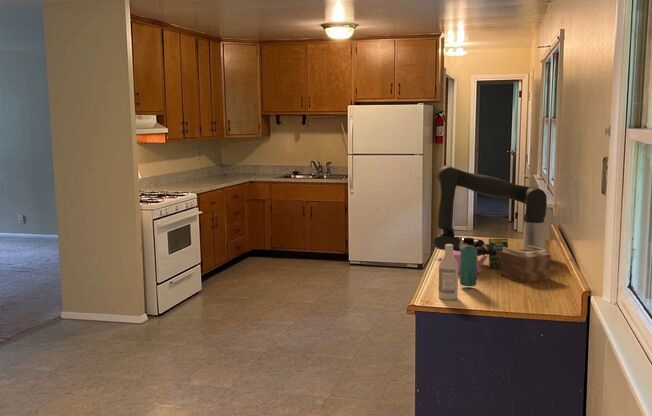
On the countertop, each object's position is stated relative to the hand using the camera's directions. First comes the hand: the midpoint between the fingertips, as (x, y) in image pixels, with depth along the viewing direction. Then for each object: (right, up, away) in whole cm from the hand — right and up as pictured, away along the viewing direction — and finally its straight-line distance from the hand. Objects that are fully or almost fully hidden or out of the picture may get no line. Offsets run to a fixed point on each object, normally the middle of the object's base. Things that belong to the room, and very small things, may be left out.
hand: (501, 251), depth 280 cm
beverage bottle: (-22, -12, -31) cm, 40 cm away
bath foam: (-32, -14, -44) cm, 57 cm away
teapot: (-17, -9, -5) cm, 20 cm away
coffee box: (-1, -8, +2) cm, 8 cm away
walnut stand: (+5, -10, -14) cm, 18 cm away
